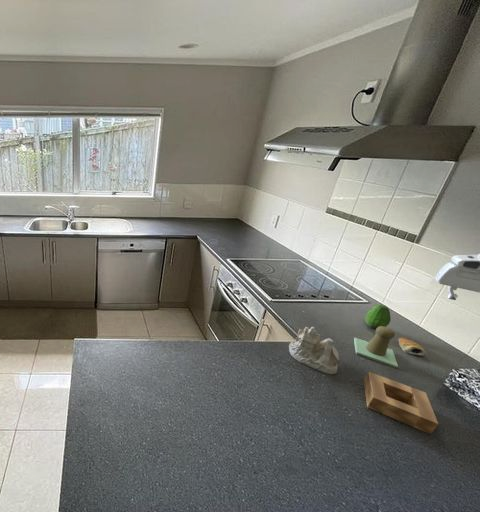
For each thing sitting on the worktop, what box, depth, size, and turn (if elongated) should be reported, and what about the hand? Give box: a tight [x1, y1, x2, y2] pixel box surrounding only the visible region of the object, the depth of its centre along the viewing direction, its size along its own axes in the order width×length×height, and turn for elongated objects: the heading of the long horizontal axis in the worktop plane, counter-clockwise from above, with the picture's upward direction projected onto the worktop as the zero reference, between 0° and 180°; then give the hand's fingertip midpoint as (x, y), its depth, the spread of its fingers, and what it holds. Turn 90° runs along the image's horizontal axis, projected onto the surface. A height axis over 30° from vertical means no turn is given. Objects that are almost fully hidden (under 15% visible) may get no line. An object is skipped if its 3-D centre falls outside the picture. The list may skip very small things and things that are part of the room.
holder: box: [362, 370, 439, 435], centre depth 90 cm, size 14×14×4 cm
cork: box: [366, 326, 396, 356], centre depth 111 cm, size 6×6×11 cm
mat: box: [353, 337, 399, 369], centre depth 114 cm, size 12×12×1 cm
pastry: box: [398, 337, 426, 356], centre depth 117 cm, size 9×7×4 cm
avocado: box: [365, 304, 392, 329], centre depth 128 cm, size 8×8×12 cm
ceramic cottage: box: [288, 326, 340, 375], centre depth 108 cm, size 16×16×15 cm
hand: (472, 303), depth 91 cm, fingers open, 8 cm apart
